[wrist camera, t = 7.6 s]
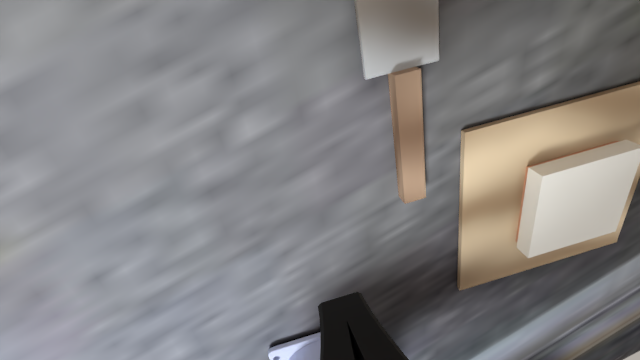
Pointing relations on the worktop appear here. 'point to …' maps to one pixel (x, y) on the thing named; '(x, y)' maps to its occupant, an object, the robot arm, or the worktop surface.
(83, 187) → the worktop surface
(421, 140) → the spatula
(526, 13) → the worktop surface
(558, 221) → the tile
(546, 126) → the mat
